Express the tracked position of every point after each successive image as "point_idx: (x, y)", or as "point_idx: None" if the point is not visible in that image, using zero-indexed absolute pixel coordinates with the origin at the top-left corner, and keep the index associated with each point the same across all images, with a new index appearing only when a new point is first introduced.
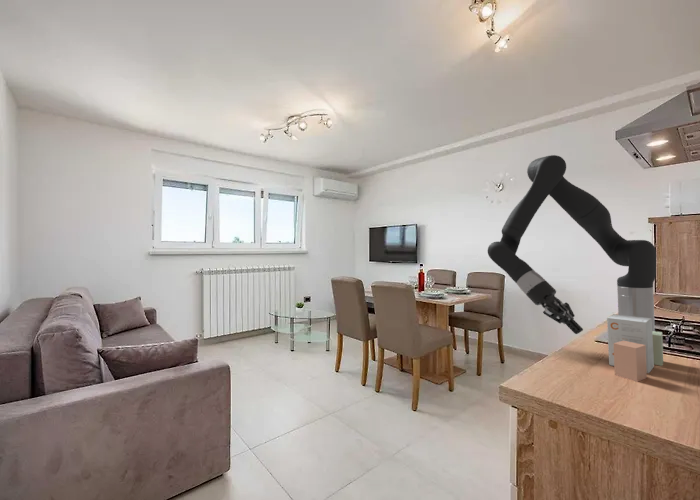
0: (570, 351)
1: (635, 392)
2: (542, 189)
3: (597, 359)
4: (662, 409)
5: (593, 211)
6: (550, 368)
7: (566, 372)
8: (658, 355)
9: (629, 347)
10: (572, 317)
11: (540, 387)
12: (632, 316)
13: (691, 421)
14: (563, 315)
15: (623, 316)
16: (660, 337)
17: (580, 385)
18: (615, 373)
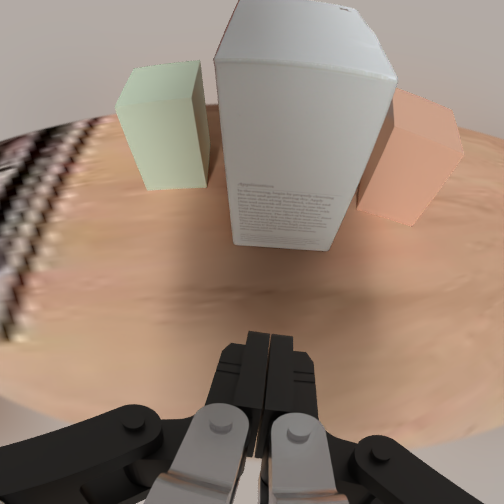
0: None
1: (470, 185)
2: None
3: (279, 299)
4: (490, 158)
5: None
6: (495, 384)
7: (492, 335)
8: (206, 125)
9: (455, 122)
10: (231, 415)
11: None
12: (246, 17)
13: (488, 136)
14: (384, 476)
15: (287, 30)
16: (200, 67)
17: None
18: (413, 221)
